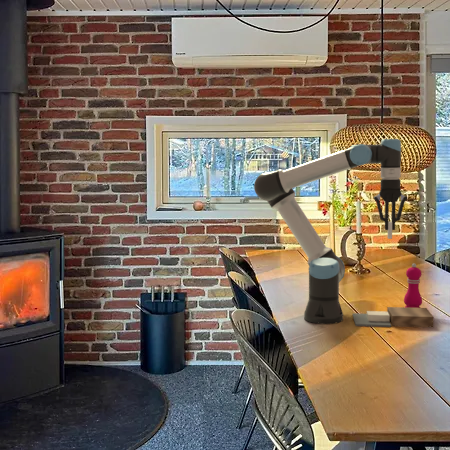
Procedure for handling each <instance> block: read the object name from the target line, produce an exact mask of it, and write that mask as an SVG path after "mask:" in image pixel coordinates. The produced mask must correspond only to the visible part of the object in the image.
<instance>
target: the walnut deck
mask: <svg viewBox="0 0 450 450" xmlns="http://www.w3.org/2000/svg"><path fill="white" fill-rule="evenodd" d="M386 307H387V309H386V312H388V313H389V315H390V320H389V322H390V324H391V327H403V328H404V327H406V328H407V327H409V328H434V315H433V314H432V313H431V312H430V310H429V309H428V308H427V307H421V308H408V307H405V306H402V307H400V306H399V307H398V306H386Z"/></svg>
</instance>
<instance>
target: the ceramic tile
mask: <svg viewBox="0 0 450 450" xmlns="http://www.w3.org/2000/svg"><path fill="white" fill-rule="evenodd" d="M366 314H367V316H366V317H367V319H368V321H389V320H390V315H389V313H388V312H387V310H386V311H385V310H384V311H381V310H380V311H376V310H366ZM389 322H390V321H389Z"/></svg>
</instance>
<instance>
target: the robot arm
mask: <svg viewBox="0 0 450 450" xmlns="http://www.w3.org/2000/svg"><path fill="white" fill-rule="evenodd" d="M401 162H402V142H401V140H400V139H399V138H384V139H381V141H380V143H379V144H377V143H376V144H364V143H362V144H361V143H358V144H352V145H351V146H350V147H349V148H347V149H344V150H340V151H336V152H334V153H331V154H328V155H325V156H322V157H319V158H317V159H314V160H311V161H308V162H305V163H303V164H300V165H296V166H295V167H294V166H293V167H291V168H287V169H285V170H283V169H281V168H280V169H276V170H270V171H266V172H263V173H260V174H259V175H258V176H257V177H256V178H255V180H254V185H253V190H254V193H255V194H256V196H257V197H259V199H261V200H262V201H267V203H268V204H269V206H270V208H271V209H274V210H277V211H278V214H280V217H281V218H282V220H283V221H284V222H285V224H286V226H287V227H288V229H289V230H290V232H291V233H292V235H293V236H294V238H295V239H296V241H297V243H298V244H299V246H300V247H301V249H302V251H303V252H304V253H305V255H306V257H307V265H308V300H307V304H306V306H305V310H304V313H303V315H304V316H303V318H304V320H305V321H307V322H309V323H314V324H319V325H321V324H323V325H330V324H331V325H333V324H337V323H341V322H343V320H344V314H343V313H344V312H343V309H342V306H341V303H340V299H339V298H340V282H341V281H343V278H344V277H345V275H346V274H345V272H346V267H345V264H344V262H343V260H342V259H341V258H340V257H338V256H337V254H336V253H335V252H334V250H333V249H332V248H331V247H328V246H326V245H325V243H324V242H323V240H322V238H321V236H320V235H319V234H318V232H317V231H316V230H315V228H314V226H313V225H312V223H311V222H310V220H309V218H308V217H307V216H306V214H305V212H304V211H303V209H302V208H301V206H300V205H299V203H298V202H297V199H295V197H296V192H295V190H294V188H297V187H299V186H304V185H306V184H309V183H312V182H315V181H317V180H322V179H323V178H326V177H329V176H333V175H336V174H338V173H342V172H345V171H349V170H351V169H354V168H356V167H360V166H363V165H369V164H371V165H372V164H374V165H375V164H380V178H381V180H380V191H379V192H378V194H376V195H375V196H373V200H374V201H375V202H376V203H375V204H376V207H377V212H378V215H379V219H380V220H381V221H382V222H384V230H385V231H387V239H389V240H391V239H393V231H395V230H396V222H398V221H400V220H401V217H402V214H403V208H404V206H405V202H406V201H407V199H408V196H406V195H404V194H403V193H402V190H401V182H402V181H401V179H400V178H401V174H402V173H401V171H402V169H401V167H402V166H401V165H402V164H401ZM381 199H382V200H383V202H384V214H383V210H382V206H381V202H380V200H381ZM399 199H400V203H399V206H398V211H397V214H396V202H397V201H398V200H399ZM390 203H391V221H389V216H390V213H389V211H390V210H389V209H390V207H389V206H390V205H389V204H390Z"/></svg>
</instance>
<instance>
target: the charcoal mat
mask: <svg viewBox="0 0 450 450" xmlns="http://www.w3.org/2000/svg"><path fill="white" fill-rule="evenodd" d="M366 316H367V313H355V312H352V319H353V322H354V326H355V327H374V328H375V327H378V328H380V327H381V328H392V325H391V323H390V321H368V319H367V317H366Z"/></svg>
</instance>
